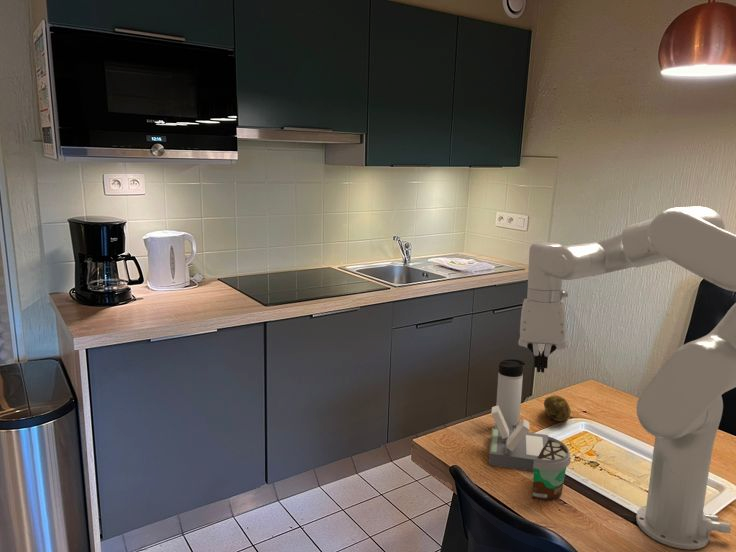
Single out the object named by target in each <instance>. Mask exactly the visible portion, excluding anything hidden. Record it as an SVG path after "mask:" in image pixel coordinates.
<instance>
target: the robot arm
mask: <svg viewBox="0 0 736 552" xmlns="http://www.w3.org/2000/svg"><path fill="white" fill-rule="evenodd" d="M528 254H529V255H528V272H527V273H528V274H527V276H528V277H527V292H526V293H527V296H526V298H524V299H523V302H522V307H521V311H520V312H521V313H520V314H521V315H520V323H519V335H520V336H519V339H518V346H519V347H524V348H527V349H528V350H529V351H530V352H531V353H532V354H533V355H534V357H533V358H534V359H533V368H536V372H537V373H542V374H543V373H545V369H548V363H549V361H548V360H549V357H550V355H551V354H552V353H554V352H555V351H556V350H563V349H566V348H567V346H566V341H565V340H566V307H565V302H564V300H562V299H564V298H569V291H565V290H563V288H562V286H563V285H562V284H563V280H564V281H572V280H579V279H583V278H589V277H590V278H591V277H596V276H601V275H604V274H609V273H612V272H618V271H622V270H626V269H631V268H641V267H646V266H651V265H655V264H658V263H663V262H666V261H667V262H668V261H671V262H673V263H674V264H676V265H678V266H679V267H682V268H683V269H685V270H687V271H688V272H691V273H693V274H695V275H696V276H697V277H700V278H702V279H704V280H705V281H707V282H709V283H711V284H713V285H715V286H717V287H719V288H721V289H724V290H726V291H730V292H736V234H734V233H731V232H729V231H727V230H725V224H724V220H723V218H722V217H721V215H720V213H718V212H717V211H715V210H714V209H711V208H709V207H706V206H699V205H698V206H680V207H679V206H678V207H671V208H667V209H666V210H663V211H662V212H660V213H658V214H657V215H656V216H655V217H654V218H650V219H647V220H644V221H643V220H642V221H641V222H636V223H633V224H630V225H627V226H625V227H624V229H623V230H622V232H621V233H620V234H618V235H615V236H612V237H608V238H604V239H601V240H597V241H594V242H586V243H577V244H570V245H569V244H567V245H562V244H560V243H558V242H552V241H551V242H548V241H540V242H534V243H532V244H531V245H530V247H529V252H528ZM540 344H541V345H542V344H543V345H544V346H543V347H544V348H543V350H542V352H541V351H540V349H539V345H540ZM735 388H736V302H735V303H733V305H732V306H731V307H730V308H729V310H727V312H726V314H724V316H723V318H722V319H721V320H720V321H719V322H718V323H717V325H715V327H714V328H713V329H712V330H711V331H710V332H709V333H707V334H706V335H704V336H701V337H699V338H697V339H695V340H691V341H689V342H686V343H685V344H683V345H681V346H680V347H678V348H676V350H675V351H674V352H673V353H671V355H670V356H669V357H668V358H667V359H666V360H665V362H663V365H661V367H660V368H659V369H658V371H657V372H656V373H655V375H654V376H653V377H652V378H651V380H650V381H649V383H647V385H646V386H645V388H643V390H642V391H641V393H640V395H639V397H638V399H637V403H636V416H637V419H638V421H639V423H640V425H641V427H642V428H643V429H644V430H645V431H646V432H647V434H650V435H651V436H653V437H655V439H654V445H653V450H652V457H651V467H650V474H649V475H650V476H649V482H648V483H649V484H648V491H647V492H648V493H647V500H646V505H645V506H641V507H640V508H639V509H638V510H637V511H636V519H635V520H636V523H637V525H638V527H639V528H640V529H641V530H642V532H644V533H645V534H646V535H647V536H649V538H651V539H653V540H655V541H657V542H659V543H660V544H664V545H666V546H669V547H672V548H675V549H680V550H699V549H702V548H704V547H706V546H707V545H708V543H709V540H710V533H712V531H714V532H717V533H724V534H731V531H732V529H731V528H732V527H731V524H730V522H727V521H720V520H719V517H718V516H719V515H717V514H716V515H715V514H712V513H711V514H710V513H709V514H708V513H705V512H704V506H705V500H706V495H707V487H708V480H709V474H710V467H711V462H712V456H713V449H714V444H715V440H716V436H717V432H718V429H719V426H720V423H721V420H722V416H723V411H724V410H723V409H724V403H723V402H724V401H723V397H722V395H723V394H725V393H726V392H728V391H730V390H732V389H735Z"/></svg>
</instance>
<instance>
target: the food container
mask: <svg viewBox="0 0 736 552" xmlns="http://www.w3.org/2000/svg"><path fill="white" fill-rule="evenodd" d="M570 453H571V452H570V450H569V447H568V446H567V445H566V444H565V443H564V442H563V441H561V440H559V439H556V438H554V437H551V436H549V435H548V441H547V443H546V445H545V446H544V447H543V449H542V450H541V452H540V454H539V456H538V458H534V464H533V468H534V471H533V474H532V475H533V477H532V496H531V499H533V500H535V501H542V502H551V501H556V500H558V499H559V498H561V496H562V494H563V488H564V483H565V477H566V472H567V467H568V466H569V465H570V464H571V454H570Z"/></svg>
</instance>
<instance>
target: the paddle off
mask: <svg viewBox="0 0 736 552" xmlns="http://www.w3.org/2000/svg"><path fill="white" fill-rule="evenodd" d="M529 431H530V422H529V421H528V420H526V419H524V418H522V420H521V421H519V425H518V426H517V428H516V429H515V430H514V431H513V433H512V434H511V435H510V437H509V438H508V439H507V443H506V444H505V454H506V455H508V454H509V450H511V451H513V450H514V449H515V447H516V446H517V445H518V444H519V442H520V441H521V440H522V439H523V437H524V436H525V435H526V434H527V432H528V433H529Z"/></svg>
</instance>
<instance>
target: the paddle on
mask: <svg viewBox="0 0 736 552" xmlns="http://www.w3.org/2000/svg"><path fill="white" fill-rule="evenodd" d="M491 416H492V417H493V420H494V423H496V425H497V427H498V429H499V432H500V434H501V436H502V439H504V438H506V441H505V442H506V443H507V439H508V438H509V429H508V427H507V424H506V422H505V420H504V417H503V415H502V413H501V411H500V408H499V406H496V405H495V406H492V407H491Z"/></svg>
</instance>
